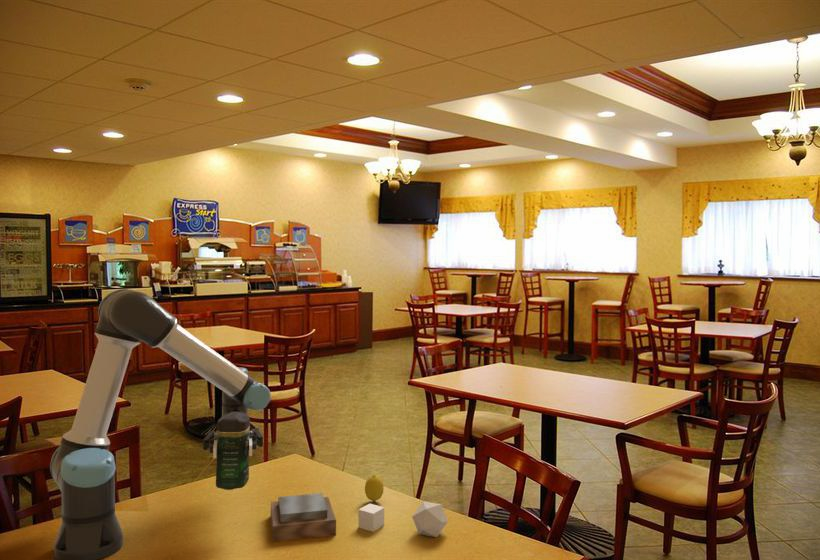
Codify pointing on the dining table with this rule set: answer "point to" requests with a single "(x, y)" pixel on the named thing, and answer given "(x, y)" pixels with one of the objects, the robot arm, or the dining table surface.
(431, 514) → the die
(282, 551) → the dining table surface
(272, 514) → the tower stand
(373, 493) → the lemon
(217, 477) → the coffee jar
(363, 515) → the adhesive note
